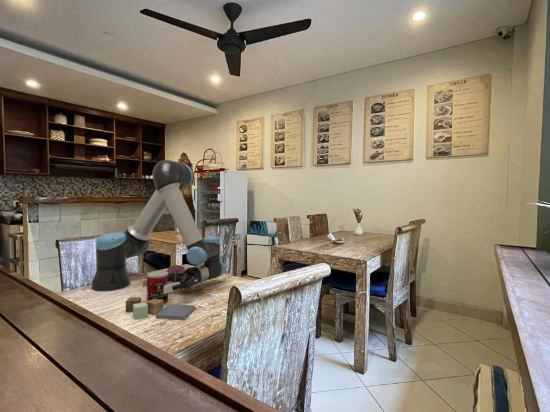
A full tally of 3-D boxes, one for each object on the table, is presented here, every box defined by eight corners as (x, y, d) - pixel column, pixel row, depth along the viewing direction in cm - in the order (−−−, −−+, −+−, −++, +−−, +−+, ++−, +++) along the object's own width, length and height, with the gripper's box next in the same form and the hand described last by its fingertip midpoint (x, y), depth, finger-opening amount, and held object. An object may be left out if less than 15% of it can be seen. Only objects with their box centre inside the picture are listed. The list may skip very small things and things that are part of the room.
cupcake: (181, 282, 142) (181, 257, 141) (163, 281, 142) (163, 256, 141) (187, 277, 150) (187, 253, 150) (170, 277, 150) (170, 253, 150)
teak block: (146, 313, 104) (145, 302, 104) (155, 309, 108) (155, 298, 108) (154, 315, 103) (154, 304, 102) (163, 311, 106) (163, 300, 106)
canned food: (147, 306, 110) (147, 277, 110) (146, 299, 117) (146, 272, 117) (169, 303, 114) (169, 275, 113) (166, 297, 121) (166, 270, 120)
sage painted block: (135, 319, 99) (135, 308, 99) (133, 315, 102) (133, 304, 102) (147, 317, 101) (147, 305, 101) (145, 313, 104) (145, 302, 104)
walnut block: (125, 312, 105) (125, 301, 105) (129, 308, 109) (129, 297, 109) (137, 312, 105) (137, 300, 105) (140, 307, 109) (140, 297, 109)
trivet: (155, 318, 100) (155, 314, 100) (169, 307, 110) (169, 304, 110) (184, 319, 99) (184, 316, 99) (195, 308, 109) (195, 305, 109)
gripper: (216, 288, 124) (174, 303, 107) (177, 278, 138) (134, 290, 120) (216, 270, 124) (174, 282, 106) (177, 262, 138) (134, 272, 120)
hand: (152, 286), depth 113 cm, fingers open, 13 cm apart
